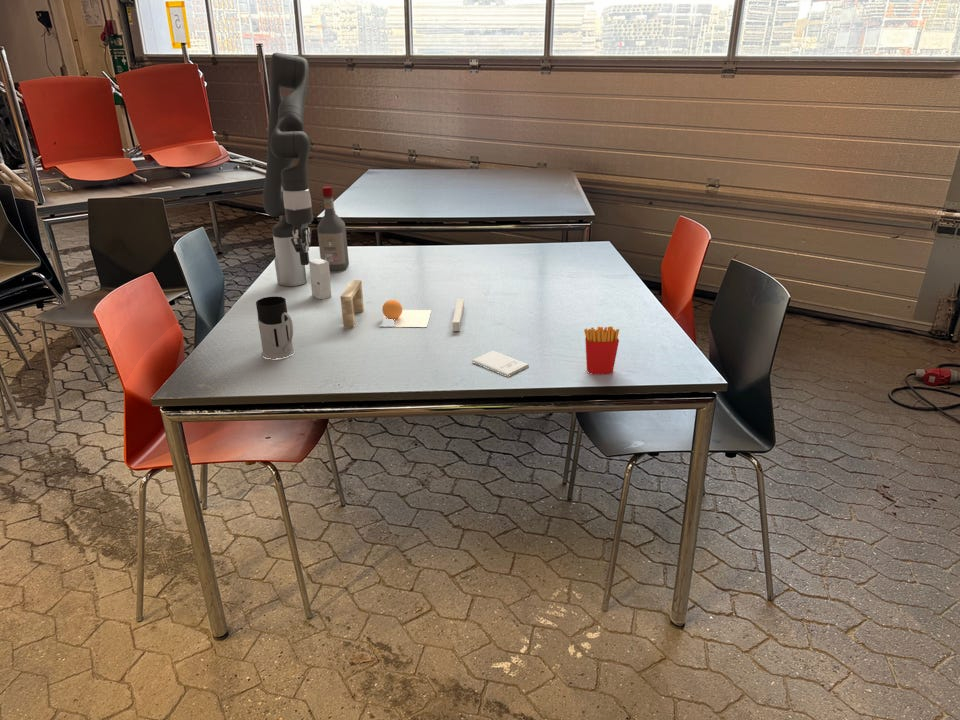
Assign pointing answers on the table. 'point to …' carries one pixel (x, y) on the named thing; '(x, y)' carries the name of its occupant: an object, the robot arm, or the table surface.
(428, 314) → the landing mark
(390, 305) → the ball
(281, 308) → the glass holder
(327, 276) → the skincare box
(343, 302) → the bridge
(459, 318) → the wall
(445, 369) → the table surface
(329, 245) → the liquor
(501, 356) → the external hard drive
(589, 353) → the french fries
